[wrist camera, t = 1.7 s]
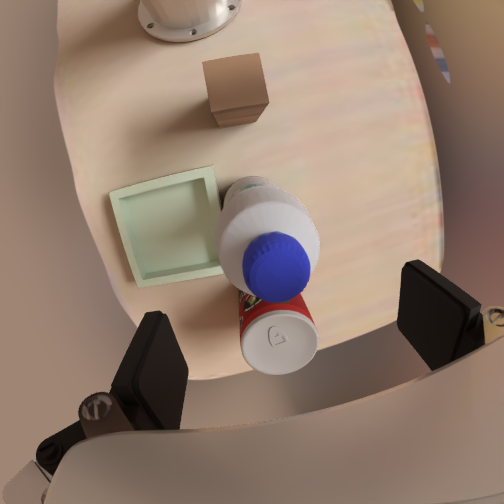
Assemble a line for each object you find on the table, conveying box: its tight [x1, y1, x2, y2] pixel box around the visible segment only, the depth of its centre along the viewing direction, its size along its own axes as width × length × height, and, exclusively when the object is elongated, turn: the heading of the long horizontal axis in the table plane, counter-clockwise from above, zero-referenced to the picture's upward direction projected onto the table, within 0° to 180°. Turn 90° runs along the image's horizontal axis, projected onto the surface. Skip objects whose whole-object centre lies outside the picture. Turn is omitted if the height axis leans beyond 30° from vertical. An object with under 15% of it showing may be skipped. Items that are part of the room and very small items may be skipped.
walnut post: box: [202, 53, 269, 128], centre depth 22 cm, size 4×4×12 cm
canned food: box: [239, 290, 319, 375], centre depth 30 cm, size 8×8×11 cm
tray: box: [109, 165, 224, 288], centre depth 30 cm, size 12×12×2 cm
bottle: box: [214, 176, 320, 303], centre depth 22 cm, size 7×7×20 cm
